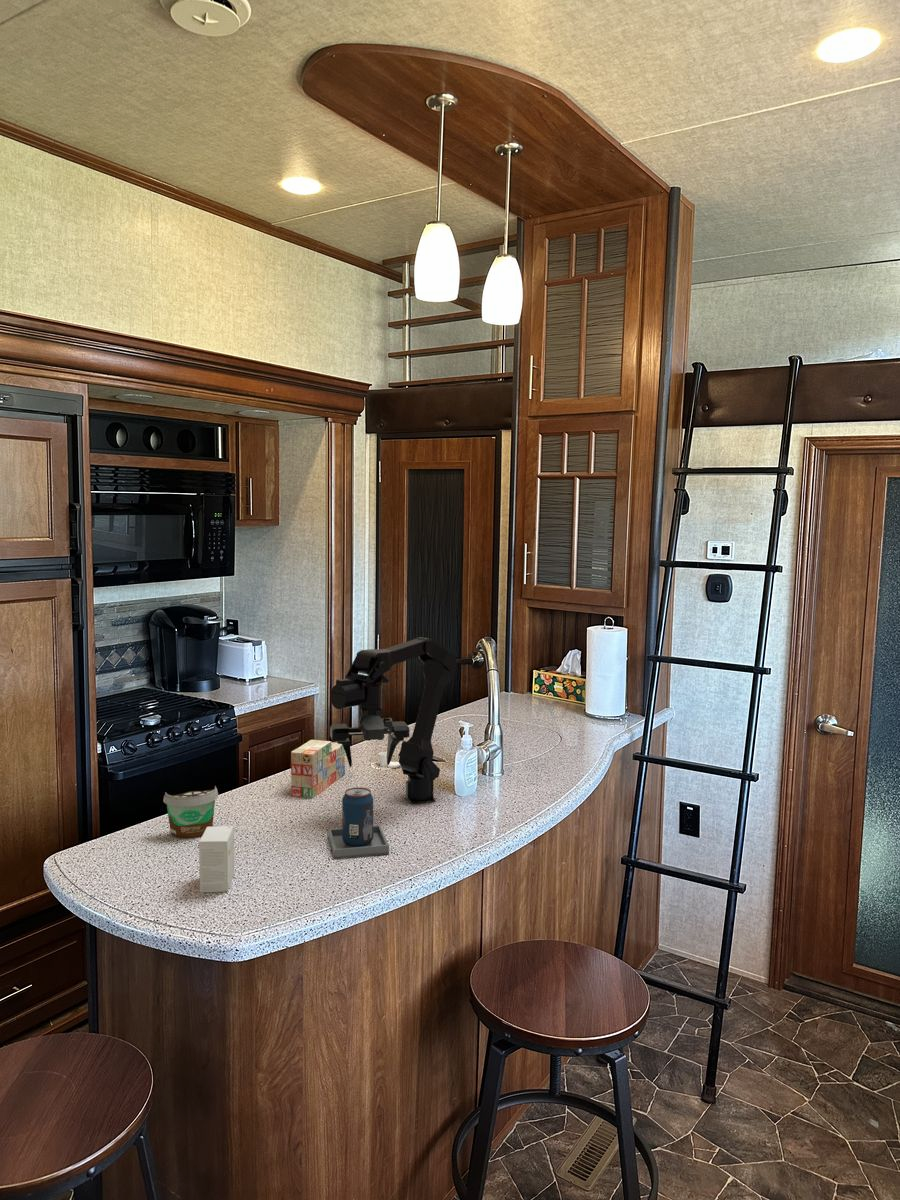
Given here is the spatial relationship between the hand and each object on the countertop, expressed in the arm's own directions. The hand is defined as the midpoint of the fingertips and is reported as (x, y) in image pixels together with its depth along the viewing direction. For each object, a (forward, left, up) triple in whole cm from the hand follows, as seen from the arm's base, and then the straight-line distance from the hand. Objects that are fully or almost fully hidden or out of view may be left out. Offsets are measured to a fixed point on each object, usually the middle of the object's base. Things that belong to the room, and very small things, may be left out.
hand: (369, 765), depth 203 cm
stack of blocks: (+10, -27, -13) cm, 31 cm away
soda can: (+5, +17, -13) cm, 22 cm away
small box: (+35, +30, -13) cm, 48 cm away
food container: (+41, +3, -13) cm, 43 cm away
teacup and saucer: (-10, -38, -14) cm, 41 cm away
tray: (+5, +17, -13) cm, 22 cm away
